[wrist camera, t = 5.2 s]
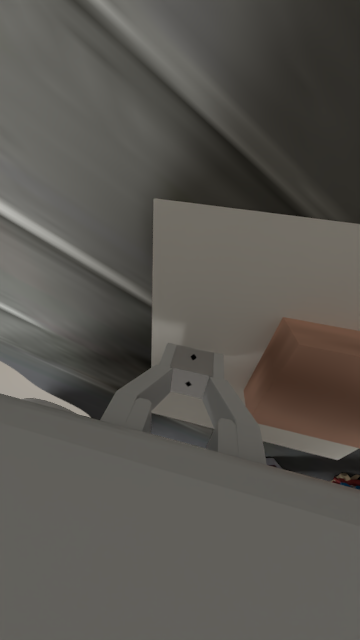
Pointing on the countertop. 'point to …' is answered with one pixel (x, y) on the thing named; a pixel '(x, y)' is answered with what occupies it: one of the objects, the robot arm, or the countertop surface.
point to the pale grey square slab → (247, 293)
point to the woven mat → (347, 480)
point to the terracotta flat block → (309, 382)
